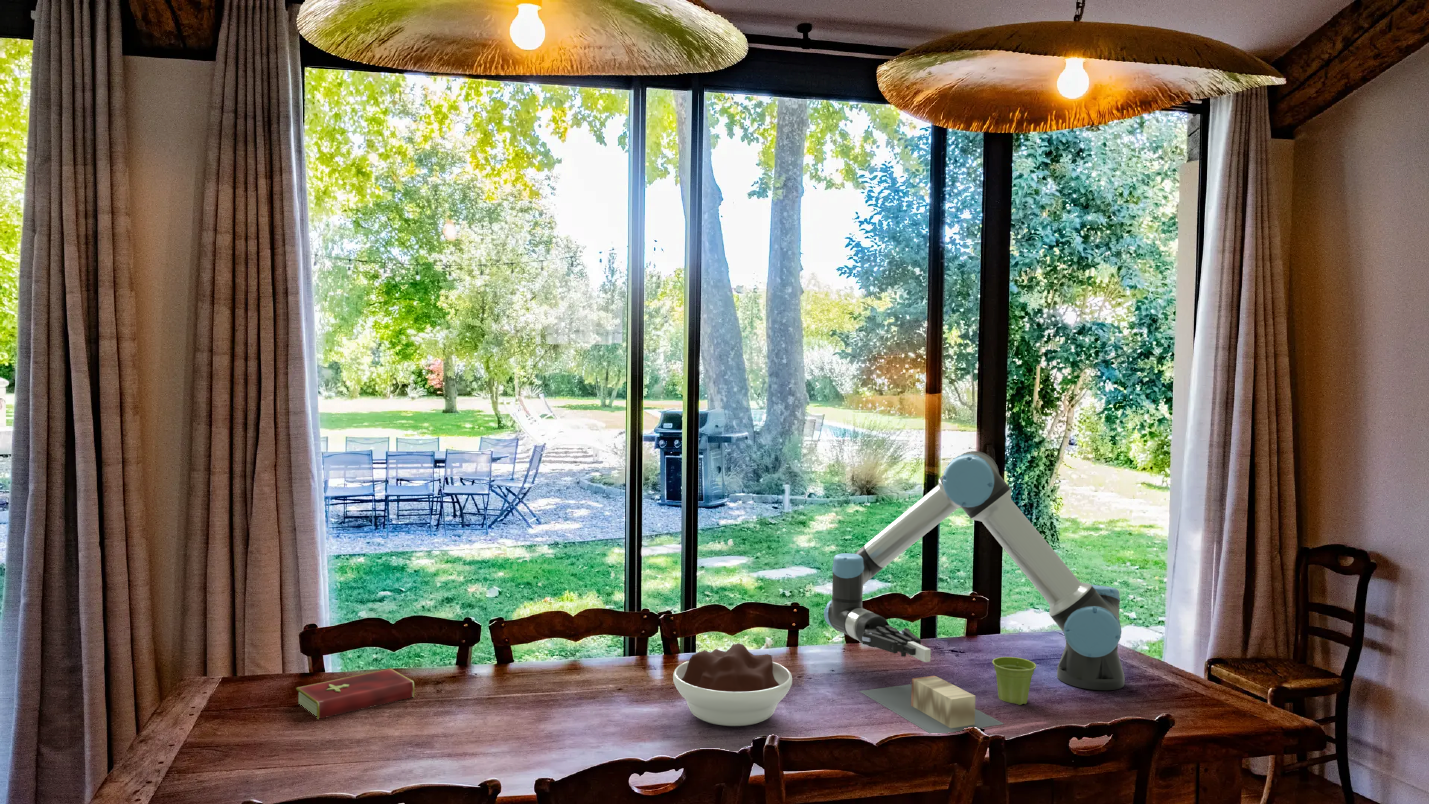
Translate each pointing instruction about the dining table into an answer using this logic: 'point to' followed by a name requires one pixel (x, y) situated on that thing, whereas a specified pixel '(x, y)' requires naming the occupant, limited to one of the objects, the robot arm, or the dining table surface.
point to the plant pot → (1013, 678)
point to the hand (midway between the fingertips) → (927, 655)
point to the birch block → (943, 701)
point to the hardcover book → (355, 692)
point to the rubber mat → (901, 705)
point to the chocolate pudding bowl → (732, 686)
